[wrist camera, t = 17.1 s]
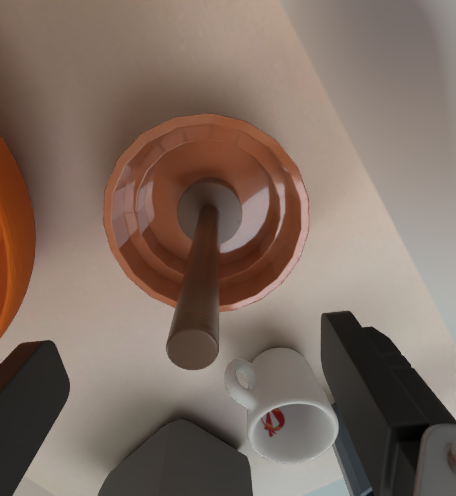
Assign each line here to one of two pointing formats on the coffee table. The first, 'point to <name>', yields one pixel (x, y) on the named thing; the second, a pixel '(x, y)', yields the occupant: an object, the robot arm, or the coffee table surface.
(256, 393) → the cup
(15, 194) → the bowl
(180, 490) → the alarm clock
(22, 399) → the robot arm
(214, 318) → the wooden plunger
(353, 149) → the coffee table surface
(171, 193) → the mixing bowl
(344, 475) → the utensil crock
